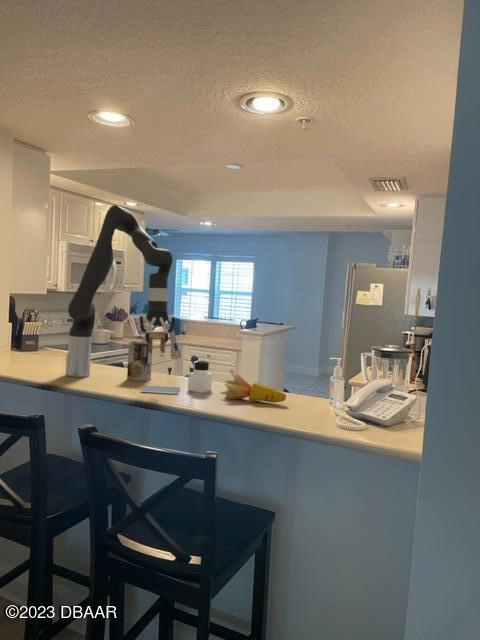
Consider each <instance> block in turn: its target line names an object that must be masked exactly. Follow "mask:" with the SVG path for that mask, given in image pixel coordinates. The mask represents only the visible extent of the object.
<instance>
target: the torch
mask: <svg viewBox="0 0 480 640" xmlns="http://www.w3.org/2000/svg"><path fill="white" fill-rule="evenodd" d="M229 374H230V375H231V376H232V377H233V379H226V380H225V379H224V380H223V382H225V383H223V384H224V386H225V387H226V390H225V391H221V392H219V394H221V395H224V399H227V400H228V399H229V400H235V399H236V400H238V399H245V398H248V402H249V403H254V402H257V401H258V402H261V401H262V402H268V403H281V402H284V401H286V399H287V394H286V393H285V392H282V391H280V390H277V389H273V388H271V387H270V386H267V385H263V384H261V383H258V382H253V384H252V385H251V384H249V382H247V381H246V380H245V379H244V378H243V377H242V376H240V374H237V373H234V372H233V373H232V372H229Z"/></svg>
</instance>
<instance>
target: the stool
mask: <svg viewBox="0 0 480 640" xmlns="http://www.w3.org/2000/svg"><path fill="white" fill-rule="evenodd" d="M153 338H160V343H159V344H160V346H159V347H160V350H159V351H160V353H161V354H165V352H166V343H165V331H164V330H150V331H149V343H148V351H149V353H152V354H153V346H152V343H153V340H154V339H153Z"/></svg>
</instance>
